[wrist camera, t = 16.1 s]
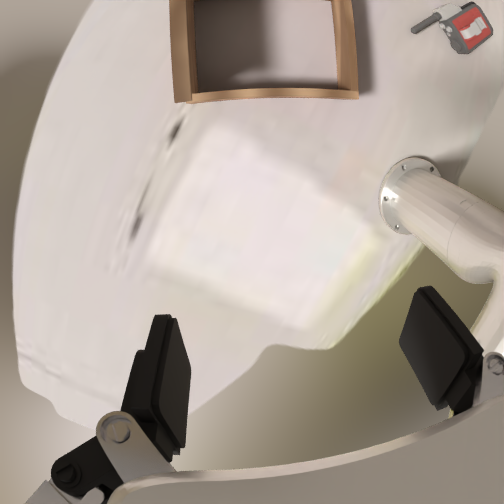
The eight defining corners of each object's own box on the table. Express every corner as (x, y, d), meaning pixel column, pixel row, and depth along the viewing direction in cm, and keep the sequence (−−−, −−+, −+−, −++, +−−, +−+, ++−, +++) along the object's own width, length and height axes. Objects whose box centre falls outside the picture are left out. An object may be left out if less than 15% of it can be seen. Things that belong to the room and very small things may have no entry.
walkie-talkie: (462, -7, 22) (403, 27, 28) (477, -11, 18) (419, 22, 24) (487, 33, 26) (434, 74, 31) (503, 32, 22) (451, 73, 27)
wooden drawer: (337, -4, 26) (366, -29, 17) (345, 99, 33) (378, 99, 25) (183, -4, 25) (169, -33, 16) (189, 104, 33) (174, 102, 24)
